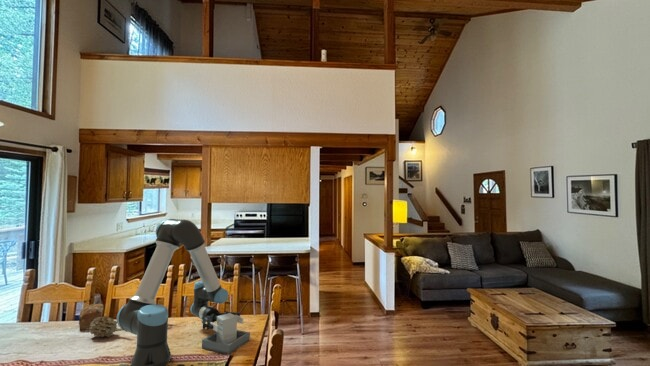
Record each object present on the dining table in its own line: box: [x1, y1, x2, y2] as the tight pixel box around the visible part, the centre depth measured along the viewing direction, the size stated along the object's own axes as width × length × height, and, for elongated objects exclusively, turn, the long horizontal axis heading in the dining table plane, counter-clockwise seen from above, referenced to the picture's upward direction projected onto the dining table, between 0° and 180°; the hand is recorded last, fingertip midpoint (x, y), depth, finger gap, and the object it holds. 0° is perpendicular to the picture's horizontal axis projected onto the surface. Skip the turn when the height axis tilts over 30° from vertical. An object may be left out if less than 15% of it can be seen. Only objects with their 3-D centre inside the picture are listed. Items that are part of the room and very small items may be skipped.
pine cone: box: [88, 315, 124, 338], centre depth 162 cm, size 22×10×10 cm, turn 89°
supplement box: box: [216, 313, 238, 344], centre depth 153 cm, size 7×7×13 cm
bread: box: [78, 303, 104, 331], centre depth 180 cm, size 19×11×10 cm, turn 32°
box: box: [201, 329, 251, 355], centre depth 153 cm, size 16×16×4 cm
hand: (230, 324), depth 152 cm, fingers open, 13 cm apart
